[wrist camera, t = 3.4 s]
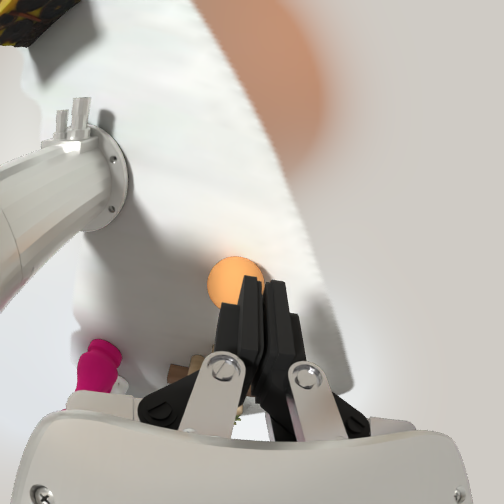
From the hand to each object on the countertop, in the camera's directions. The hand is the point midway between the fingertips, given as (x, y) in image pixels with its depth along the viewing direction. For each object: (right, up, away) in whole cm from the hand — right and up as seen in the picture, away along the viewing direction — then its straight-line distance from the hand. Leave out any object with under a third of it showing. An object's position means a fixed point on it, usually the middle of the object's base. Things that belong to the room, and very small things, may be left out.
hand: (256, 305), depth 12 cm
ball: (-2, -1, +17) cm, 17 cm away
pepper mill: (-25, -15, +28) cm, 41 cm away
